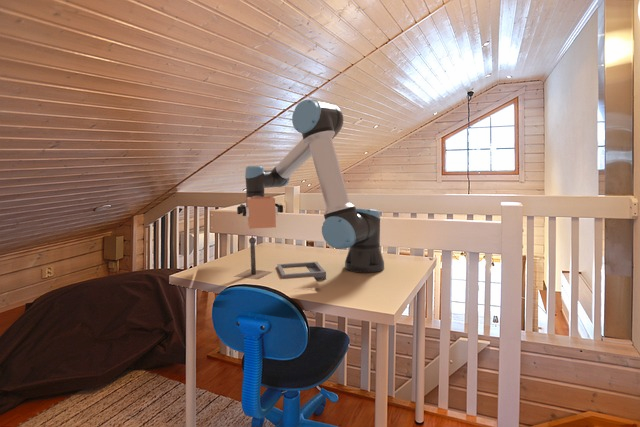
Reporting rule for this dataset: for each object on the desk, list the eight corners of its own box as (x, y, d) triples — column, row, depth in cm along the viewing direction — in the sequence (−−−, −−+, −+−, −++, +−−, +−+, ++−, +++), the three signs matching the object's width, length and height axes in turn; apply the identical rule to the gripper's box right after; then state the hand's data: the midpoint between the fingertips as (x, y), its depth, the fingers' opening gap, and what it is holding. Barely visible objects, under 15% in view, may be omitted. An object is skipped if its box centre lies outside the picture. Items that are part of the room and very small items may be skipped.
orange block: (272, 223, 146) (272, 196, 145) (275, 227, 137) (275, 198, 136) (248, 224, 144) (247, 197, 143) (249, 228, 135) (248, 199, 134)
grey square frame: (317, 267, 154) (316, 261, 154) (326, 278, 139) (326, 272, 139) (277, 270, 151) (277, 264, 151) (282, 282, 136) (282, 275, 136)
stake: (273, 275, 144) (271, 235, 142) (258, 283, 135) (257, 241, 133) (249, 273, 148) (248, 234, 146) (233, 280, 139) (232, 239, 137)
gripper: (284, 213, 160) (294, 221, 138) (229, 216, 155) (230, 224, 133) (284, 195, 159) (293, 199, 137) (228, 197, 154) (229, 202, 133)
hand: (262, 212), depth 135 cm, fingers closed on orange block, 9 cm apart
